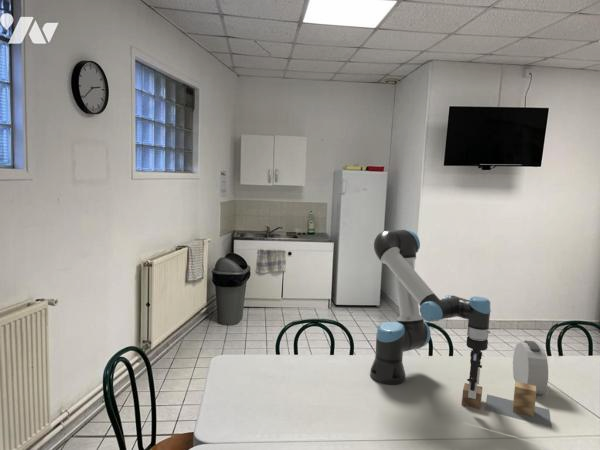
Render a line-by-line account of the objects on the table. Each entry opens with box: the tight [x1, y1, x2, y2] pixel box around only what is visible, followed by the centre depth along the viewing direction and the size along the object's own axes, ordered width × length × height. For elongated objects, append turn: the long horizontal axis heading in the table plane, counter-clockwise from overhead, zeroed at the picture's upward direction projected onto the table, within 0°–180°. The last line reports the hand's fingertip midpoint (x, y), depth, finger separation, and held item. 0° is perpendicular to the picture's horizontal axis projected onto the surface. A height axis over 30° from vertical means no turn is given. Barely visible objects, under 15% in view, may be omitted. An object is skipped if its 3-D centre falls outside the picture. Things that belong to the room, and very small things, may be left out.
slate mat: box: [484, 394, 553, 428], centre depth 162 cm, size 22×14×1 cm, turn 63°
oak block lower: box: [512, 398, 536, 417], centre depth 161 cm, size 7×5×5 cm
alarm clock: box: [512, 340, 549, 396], centre depth 182 cm, size 21×8×20 cm, turn 168°
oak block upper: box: [513, 380, 537, 405], centre depth 161 cm, size 7×5×5 cm
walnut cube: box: [461, 382, 483, 410], centre depth 166 cm, size 6×6×6 cm
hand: (473, 390), depth 165 cm, fingers open, 13 cm apart
